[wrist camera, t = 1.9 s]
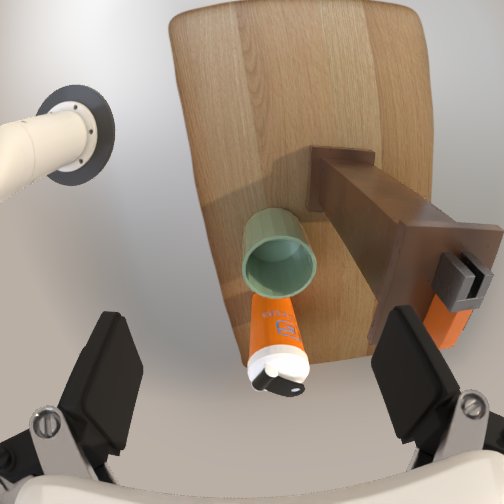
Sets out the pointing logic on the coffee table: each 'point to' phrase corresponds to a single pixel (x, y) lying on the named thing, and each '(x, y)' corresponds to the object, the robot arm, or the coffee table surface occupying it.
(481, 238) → the stand
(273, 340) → the shaker bottle
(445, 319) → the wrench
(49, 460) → the robot arm
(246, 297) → the coffee table surface
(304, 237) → the green cup
